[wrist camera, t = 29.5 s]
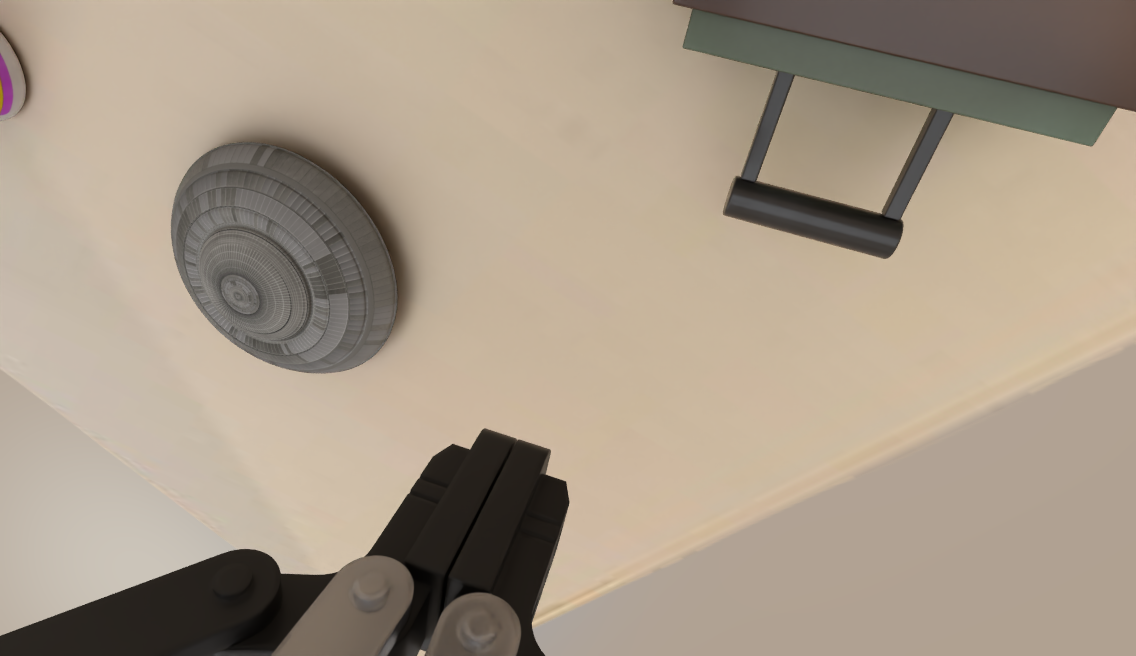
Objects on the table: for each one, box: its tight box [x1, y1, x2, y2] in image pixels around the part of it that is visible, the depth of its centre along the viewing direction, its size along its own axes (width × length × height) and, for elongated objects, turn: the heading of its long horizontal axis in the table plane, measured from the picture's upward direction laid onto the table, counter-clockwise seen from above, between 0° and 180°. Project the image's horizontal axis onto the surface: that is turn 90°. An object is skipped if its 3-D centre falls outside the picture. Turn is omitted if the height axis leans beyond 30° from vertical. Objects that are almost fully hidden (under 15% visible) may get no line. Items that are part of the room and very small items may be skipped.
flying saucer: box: [171, 142, 397, 373], centre depth 36 cm, size 15×15×6 cm
